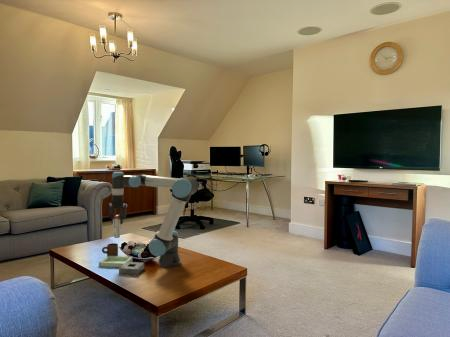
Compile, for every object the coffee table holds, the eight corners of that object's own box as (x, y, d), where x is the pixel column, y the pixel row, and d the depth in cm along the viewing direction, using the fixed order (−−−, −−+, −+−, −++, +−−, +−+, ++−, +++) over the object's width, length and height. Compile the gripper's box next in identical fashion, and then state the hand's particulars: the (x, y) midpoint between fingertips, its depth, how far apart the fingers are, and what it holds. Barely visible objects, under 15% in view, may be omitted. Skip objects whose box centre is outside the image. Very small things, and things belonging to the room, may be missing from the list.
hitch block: (144, 268, 204) (144, 262, 204) (137, 275, 192) (137, 269, 192) (126, 267, 206) (126, 261, 205) (118, 274, 194) (118, 268, 193)
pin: (121, 236, 213) (121, 214, 212) (118, 238, 208) (119, 216, 208) (115, 236, 213) (115, 214, 212) (112, 237, 209) (112, 215, 208)
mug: (104, 261, 217) (104, 248, 217) (99, 258, 222) (99, 245, 222) (120, 257, 226) (120, 244, 226) (114, 254, 231) (114, 242, 231)
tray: (132, 261, 219) (132, 256, 218) (124, 268, 205) (124, 263, 205) (108, 259, 220) (108, 255, 220) (98, 266, 206) (98, 262, 206)
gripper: (131, 194, 213) (131, 227, 214) (108, 193, 214) (107, 226, 215) (127, 195, 205) (126, 230, 206) (103, 194, 206) (102, 229, 207)
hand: (117, 228), depth 210 cm, fingers closed on pin, 3 cm apart
